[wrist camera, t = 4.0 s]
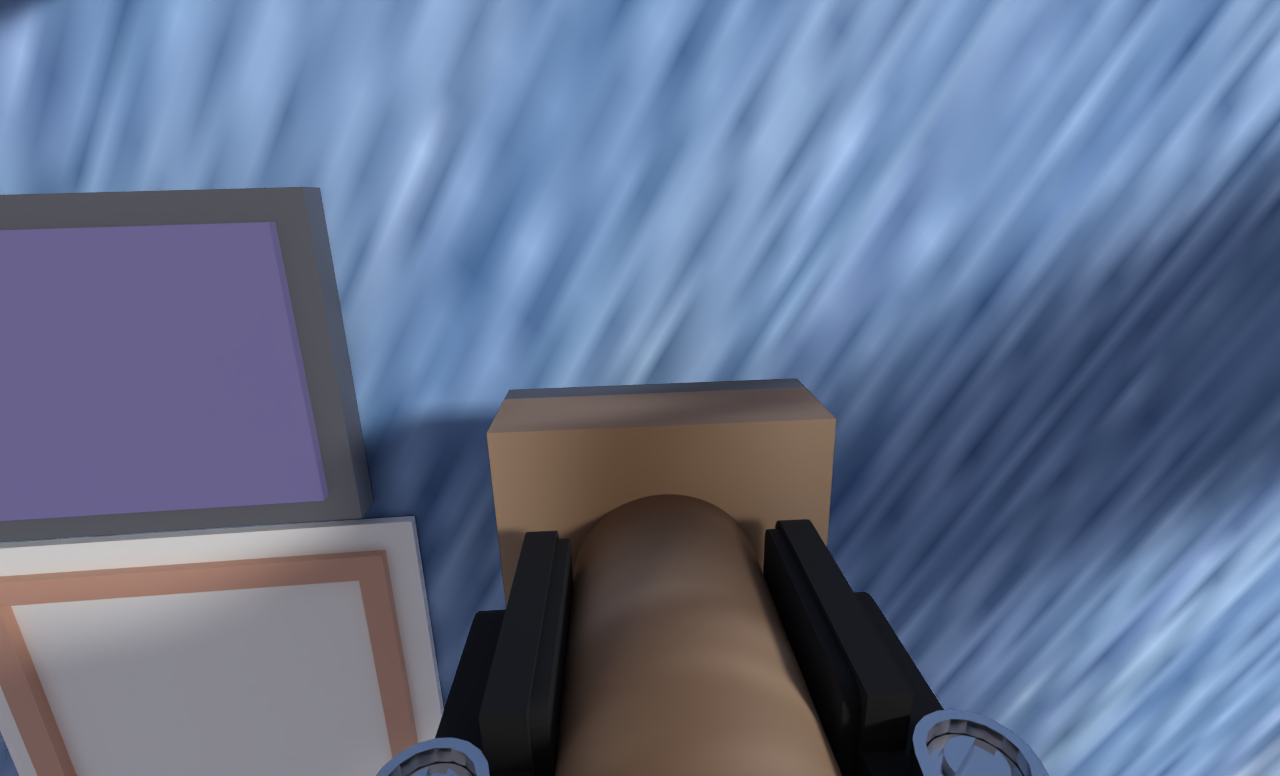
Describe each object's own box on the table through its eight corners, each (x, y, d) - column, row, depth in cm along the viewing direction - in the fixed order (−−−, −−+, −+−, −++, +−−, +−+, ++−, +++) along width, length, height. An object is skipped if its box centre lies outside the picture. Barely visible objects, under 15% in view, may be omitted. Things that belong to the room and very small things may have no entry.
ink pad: (319, 187, 14) (296, 186, 13) (373, 501, 16) (358, 524, 15) (-258, 202, 13) (-338, 203, 12) (-113, 532, 16) (-168, 558, 14)
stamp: (796, 378, 13) (1061, 647, 5) (784, 618, 15) (968, 1075, 7) (509, 389, 13) (353, 685, 5) (533, 631, 15) (444, 1114, 7)
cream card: (414, 515, 17) (408, 527, 16) (464, 841, 20) (460, 860, 20) (-64, 547, 16) (-88, 560, 15) (76, 882, 19) (60, 902, 19)
